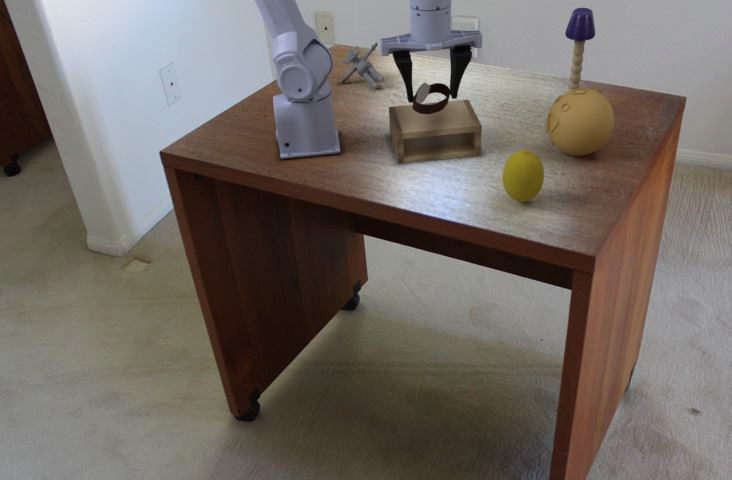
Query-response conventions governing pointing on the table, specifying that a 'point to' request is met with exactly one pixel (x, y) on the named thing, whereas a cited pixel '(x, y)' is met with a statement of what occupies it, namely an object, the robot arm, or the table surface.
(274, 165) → the table surface
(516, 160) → the lemon
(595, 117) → the stress ball
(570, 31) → the toy lamp
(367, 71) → the gray toy figurine
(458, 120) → the shelf
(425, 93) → the watch
